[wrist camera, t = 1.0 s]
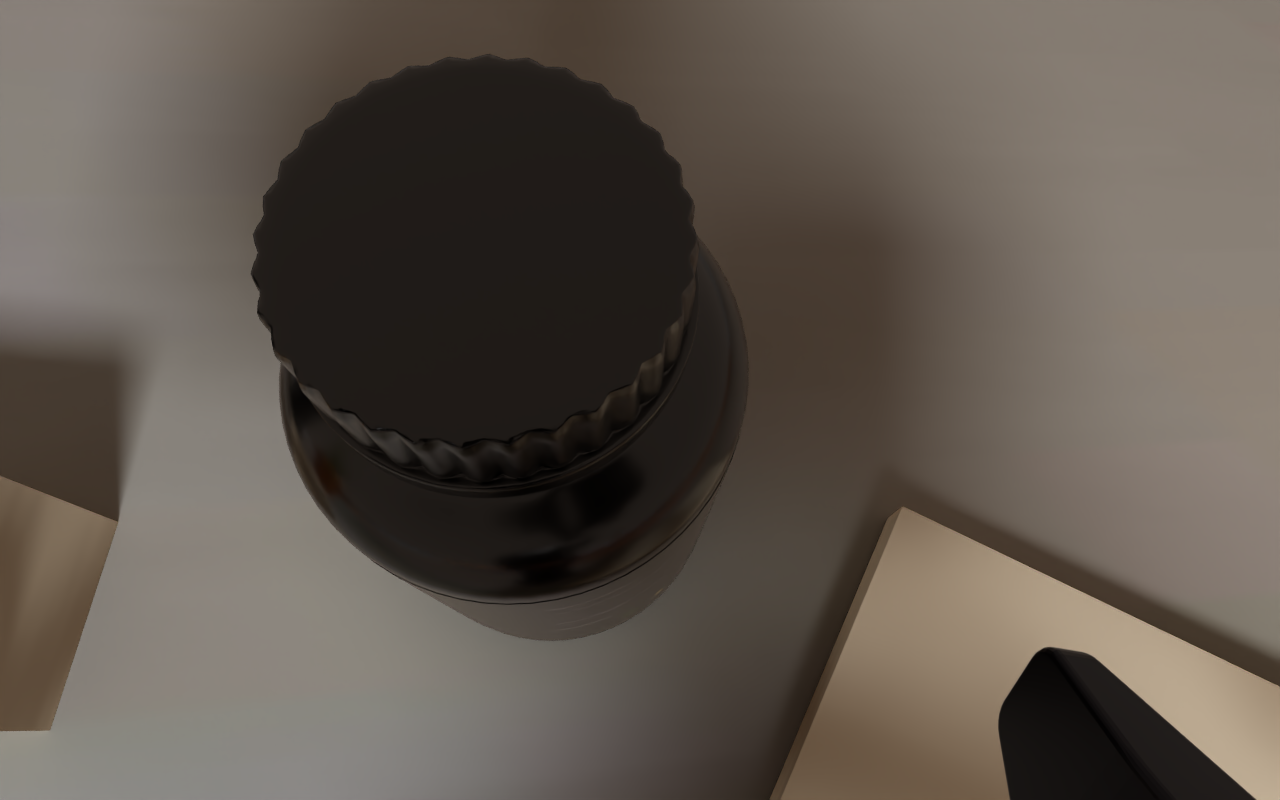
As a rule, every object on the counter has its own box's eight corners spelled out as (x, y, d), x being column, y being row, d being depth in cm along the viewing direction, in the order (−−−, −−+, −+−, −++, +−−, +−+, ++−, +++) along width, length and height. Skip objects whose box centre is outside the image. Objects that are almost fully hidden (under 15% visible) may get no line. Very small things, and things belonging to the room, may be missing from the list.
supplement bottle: (350, 485, 21) (16, 197, 9) (573, 307, 22) (516, -118, 11) (541, 717, 19) (410, 706, 8) (766, 507, 21) (932, 245, 9)
